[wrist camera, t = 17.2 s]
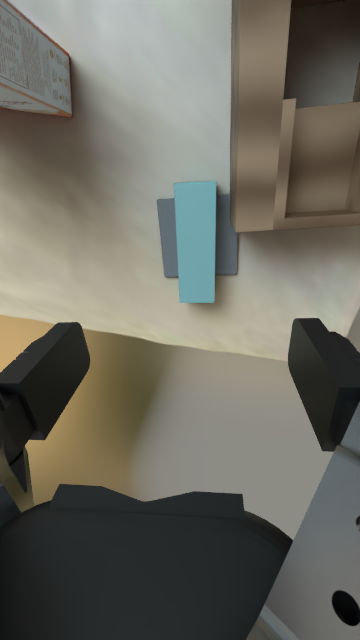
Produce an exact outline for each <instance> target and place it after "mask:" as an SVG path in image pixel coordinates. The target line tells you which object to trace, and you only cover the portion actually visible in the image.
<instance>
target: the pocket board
mask: <svg viewBox="0 0 360 640" xmlns="http://www.w3.org/2000/svg"><path fill="white" fill-rule="evenodd" d="M337 1H343V0H232V39H231V133H230V222H231V224H232V226H233V228H234V230H235V232H248V231H265V230H282V229H300V228H317V227H334V226H351V225H360V63H359V69H358V75H357V81H356V86H355V92H354V98H353V102H351V103H342V104H333V105H323V106H314V107H305V108H296V109H295V107H296V98H294V99H285V100H283V97H284V84H285V72H286V60H287V47H288V35H289V23H290V10H291V8H297V7H304V6H310V5H317V4H323V3H330V2H337Z"/></svg>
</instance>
